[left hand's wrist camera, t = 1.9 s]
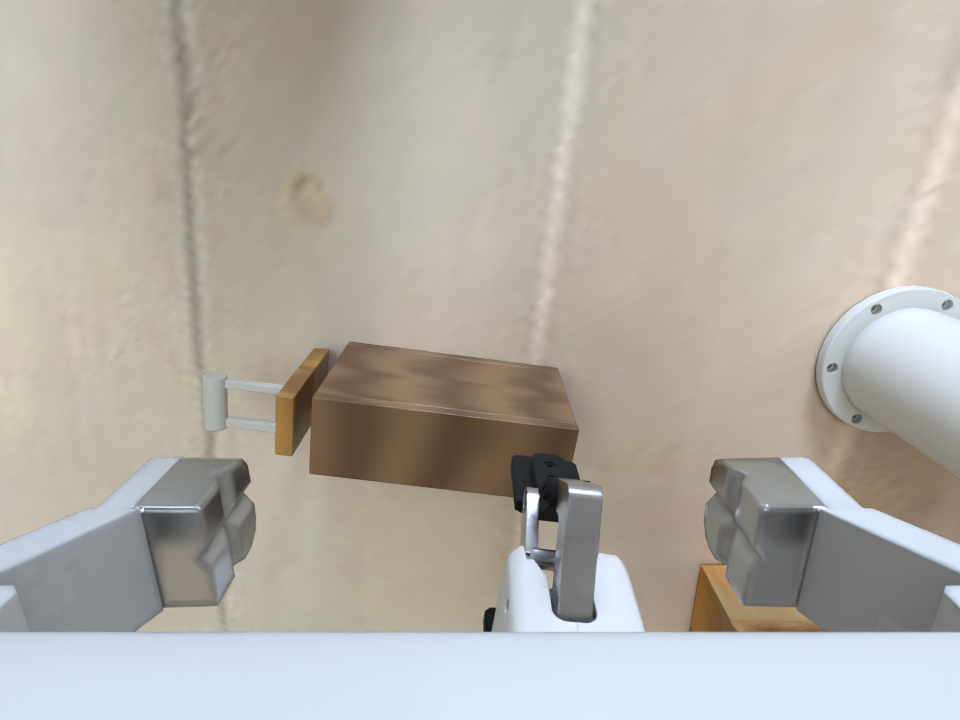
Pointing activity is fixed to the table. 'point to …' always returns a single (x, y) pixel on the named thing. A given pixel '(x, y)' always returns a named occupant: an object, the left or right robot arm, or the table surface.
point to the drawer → (289, 402)
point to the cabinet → (436, 419)
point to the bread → (739, 609)
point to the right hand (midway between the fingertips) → (526, 542)
